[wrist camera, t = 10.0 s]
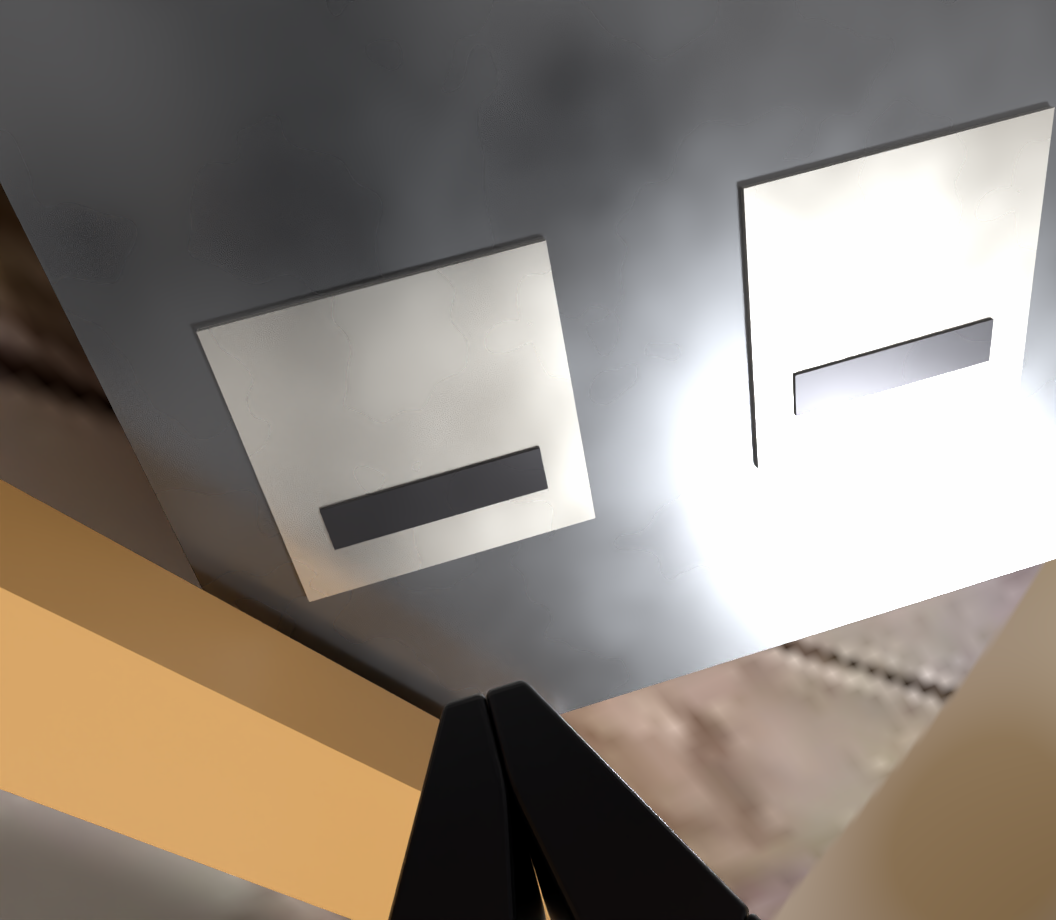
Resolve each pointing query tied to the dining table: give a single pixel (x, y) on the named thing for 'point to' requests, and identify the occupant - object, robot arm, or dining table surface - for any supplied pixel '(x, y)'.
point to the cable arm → (197, 722)
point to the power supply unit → (558, 312)
